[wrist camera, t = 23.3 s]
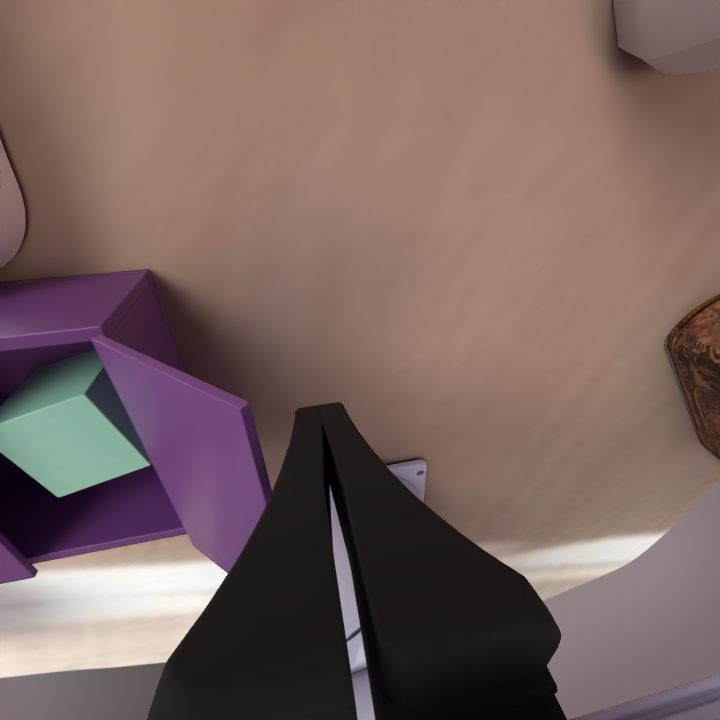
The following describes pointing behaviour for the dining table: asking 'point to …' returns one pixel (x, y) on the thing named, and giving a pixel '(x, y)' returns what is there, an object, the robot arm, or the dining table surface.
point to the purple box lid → (195, 448)
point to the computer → (10, 212)
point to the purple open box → (150, 337)
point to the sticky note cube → (70, 427)
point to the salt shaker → (671, 33)
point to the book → (699, 369)
